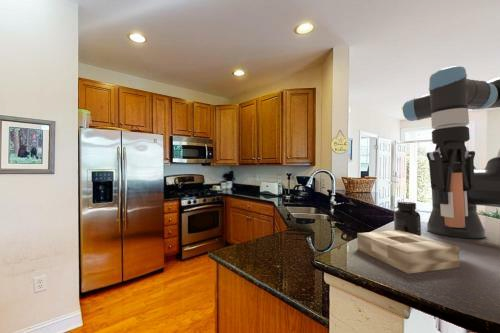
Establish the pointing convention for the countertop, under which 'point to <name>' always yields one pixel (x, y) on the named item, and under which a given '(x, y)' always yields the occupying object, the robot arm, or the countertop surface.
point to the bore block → (409, 251)
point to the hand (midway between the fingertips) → (454, 215)
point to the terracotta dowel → (457, 202)
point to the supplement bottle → (407, 218)
